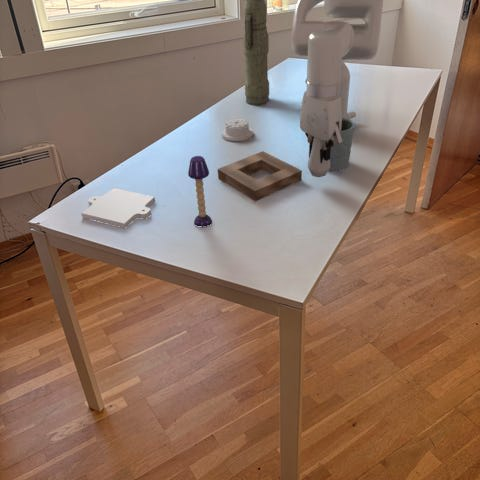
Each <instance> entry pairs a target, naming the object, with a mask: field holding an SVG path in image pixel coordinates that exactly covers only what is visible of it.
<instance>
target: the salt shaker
mask: <svg viewBox="0 0 480 480" xmlns="http://www.w3.org/2000/svg"><path fill="white" fill-rule="evenodd" d="M313 137H314V136H313ZM327 143H328V142H327ZM320 149H322V140H321V139H319V138H316V137H314V138H313V143H312V150H311V154H310V158H309V157H308V161H307V168H308V170H309V172H310V175H311V176H312V177H316V178H322V177H325V176H326V175H327V173H328V172H329V171H328V170H329V169H330V160H328V161H326V160H324V158H323V161H322V164H321V162H320Z"/></svg>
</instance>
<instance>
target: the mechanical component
mask: <svg viewBox="0 0 480 480" xmlns="http://www.w3.org/2000/svg"><path fill="white" fill-rule="evenodd" d="M253 132H254V131H253V129H252V128H251V127H249V122H248V120H247V119H246V120H245V119H242V118H241V119H240V118H234V119H229V121H226V122H224V129H222V131H221V137H222V138H223V140H226V141H229V142H243V141H246V140H248V139H249V140H250V139H251V138H252V137H253V135H254V133H253Z"/></svg>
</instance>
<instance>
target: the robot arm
mask: <svg viewBox="0 0 480 480" xmlns="http://www.w3.org/2000/svg"><path fill="white" fill-rule="evenodd" d="M321 2H324V6H323V7H324V8H323V9H324V12H325V15H326V16H327V17H329V18H330V19H331V18H332V19H345V20H346V19H347V20H348V19H352V20H353V19H354V20H355V19H358V20H359V19H361V20H362V21H364V23H350V22H349V23H348V22H346V21H339V20H337V21H334V20H333V21H329V20H306V19H307V16H308V14H309V13H310V12H311V11H312V9H313V8H314V7H316V6H317V5H319V4H320V3H321ZM383 6H384V0H297V2H296V5H295V7H294V12H293V18H292V27H291V37H290V40H291V41H290V43H291V49H292V51H293V52H294V53H295V54H296V55H298V56H303V57H307V61H306V62H307V63H306V64H307V66H306V67H307V68H306V69H307V70H306V79H305V81H304V82H305V84H306V90H305V91H304V92H303V96H302V99H301V105H300V106H301V107H300V113H299V114H300V115H299V128H300V130H301V131H302V132H304V134H305V136H306V137H307V143H308V144H309V145H308V146H309V148H308V159H309V158H310V154H311V150H312V143H313V138H314V137H316V138H319V139H321V140H322V149H320V162H321V164H322V161H323V158H324V160H326V161H328V160H330V152H331V147H333V146H334V145H338V144H340V143H342V138H341V135H340V133H341V126H342V118H346V119H349V120H352V119H353V118H356V116H357V113H356V112H355V111H350V112H349V113H348V106H349V105H348V104H349V97H350V96H349V95H350V92H349V91H350V83H351V73H350V70H349V68H348V66H347V65H346V63H345V61H347V60H351V61H367V60H373V59H374V58H375V57H376V56H377V53H378V49H379V43H380V34H381V27H382V25H381V24H382V15H383V8H384V7H383ZM313 136H314V137H313ZM333 137H334V140H333ZM327 141H328V143H327Z"/></svg>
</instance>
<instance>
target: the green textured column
mask: <svg viewBox="0 0 480 480" xmlns="http://www.w3.org/2000/svg"><path fill="white" fill-rule="evenodd" d="M243 24H244V31H243V35H242V44H243V47H242V48H243V54H244V58H245V59H244V60H245V65H244V66H245V82H244V96H245V103H246V104H248V105H250V106H263V105H266V104H268V103H269V102H270V99H269V97H270V82H269V81H270V80H269V79H268V72H269V71H268V68H269V67H268V53H269V48H270V47H269V34H268V33H269V32H268V29H267V28H268V27H267V4H266V1H265V0H245V1H244V5H243Z"/></svg>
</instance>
